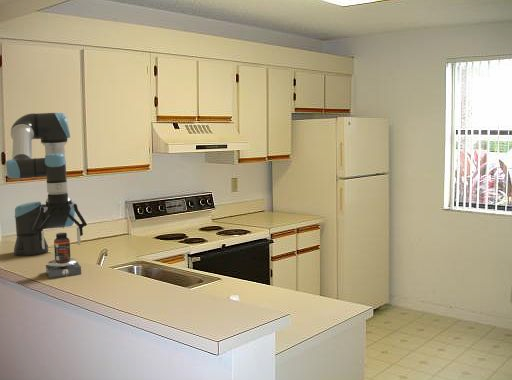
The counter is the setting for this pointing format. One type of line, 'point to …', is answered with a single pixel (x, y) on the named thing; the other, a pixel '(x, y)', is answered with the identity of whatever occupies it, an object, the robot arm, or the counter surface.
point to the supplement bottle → (62, 248)
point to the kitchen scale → (63, 268)
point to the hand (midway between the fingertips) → (61, 246)
